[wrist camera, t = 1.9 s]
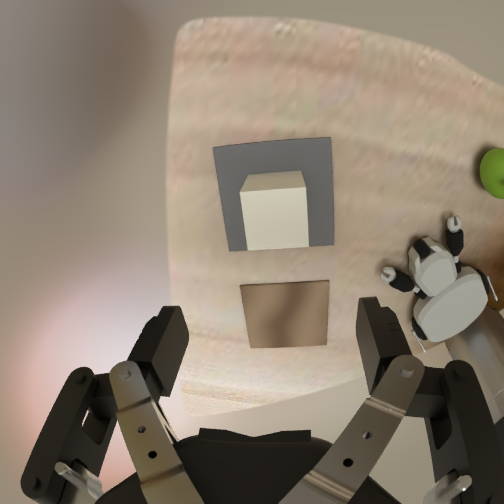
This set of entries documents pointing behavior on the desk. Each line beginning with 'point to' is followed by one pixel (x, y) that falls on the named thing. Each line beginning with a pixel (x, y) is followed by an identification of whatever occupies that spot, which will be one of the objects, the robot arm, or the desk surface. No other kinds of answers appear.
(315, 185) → the mat
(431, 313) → the robot toy
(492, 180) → the snail figurine
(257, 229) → the white block
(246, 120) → the desk surface
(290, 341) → the walnut board
